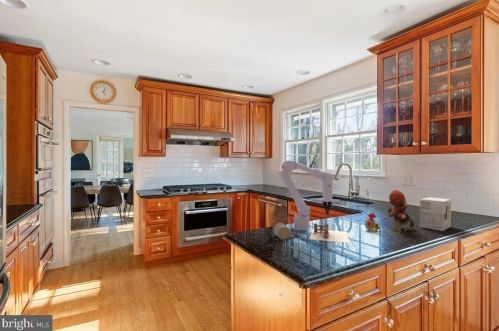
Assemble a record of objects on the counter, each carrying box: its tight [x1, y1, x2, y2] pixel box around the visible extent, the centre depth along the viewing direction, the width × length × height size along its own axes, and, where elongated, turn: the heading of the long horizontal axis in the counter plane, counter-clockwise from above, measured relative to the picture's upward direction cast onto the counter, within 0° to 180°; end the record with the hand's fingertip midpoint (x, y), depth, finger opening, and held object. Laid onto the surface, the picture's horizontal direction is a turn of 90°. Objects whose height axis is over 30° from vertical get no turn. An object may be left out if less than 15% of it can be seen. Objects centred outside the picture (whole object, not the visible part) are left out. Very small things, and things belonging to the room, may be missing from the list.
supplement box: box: [419, 196, 452, 232], centre depth 172 cm, size 17×13×18 cm
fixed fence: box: [313, 223, 329, 232], centre depth 157 cm, size 8×2×5 cm, turn 72°
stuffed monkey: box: [387, 189, 421, 233], centre depth 167 cm, size 15×17×25 cm
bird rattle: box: [364, 212, 381, 232], centre depth 163 cm, size 6×11×9 cm
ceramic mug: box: [273, 222, 295, 241], centre depth 147 cm, size 11×8×8 cm
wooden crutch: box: [324, 226, 329, 238], centre depth 149 cm, size 11×2×4 cm, turn 162°
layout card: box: [309, 228, 350, 243], centre depth 151 cm, size 20×22×1 cm
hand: (327, 214), depth 166 cm, fingers closed
